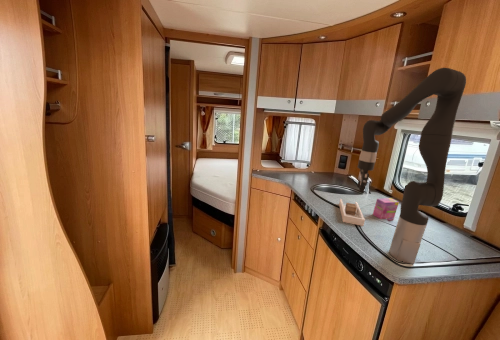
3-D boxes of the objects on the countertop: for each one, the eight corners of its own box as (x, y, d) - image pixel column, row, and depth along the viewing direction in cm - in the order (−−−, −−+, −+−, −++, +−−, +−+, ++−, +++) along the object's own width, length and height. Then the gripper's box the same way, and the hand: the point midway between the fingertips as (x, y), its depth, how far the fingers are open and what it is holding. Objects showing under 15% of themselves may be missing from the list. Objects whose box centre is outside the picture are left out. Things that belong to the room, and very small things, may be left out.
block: (354, 215, 126) (356, 207, 124) (345, 213, 127) (347, 205, 126) (353, 212, 130) (355, 204, 129) (344, 210, 132) (346, 202, 130)
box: (379, 221, 125) (384, 202, 122) (371, 216, 130) (376, 198, 127) (393, 220, 128) (399, 201, 124) (385, 215, 133) (390, 197, 130)
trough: (362, 228, 115) (364, 219, 113) (342, 224, 117) (344, 215, 116) (355, 209, 138) (357, 202, 137) (338, 206, 141) (340, 199, 139)
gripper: (377, 163, 106) (369, 195, 110) (373, 158, 119) (366, 187, 123) (360, 161, 108) (353, 192, 112) (357, 156, 121) (351, 184, 125)
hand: (360, 189), depth 117 cm, fingers open, 8 cm apart
